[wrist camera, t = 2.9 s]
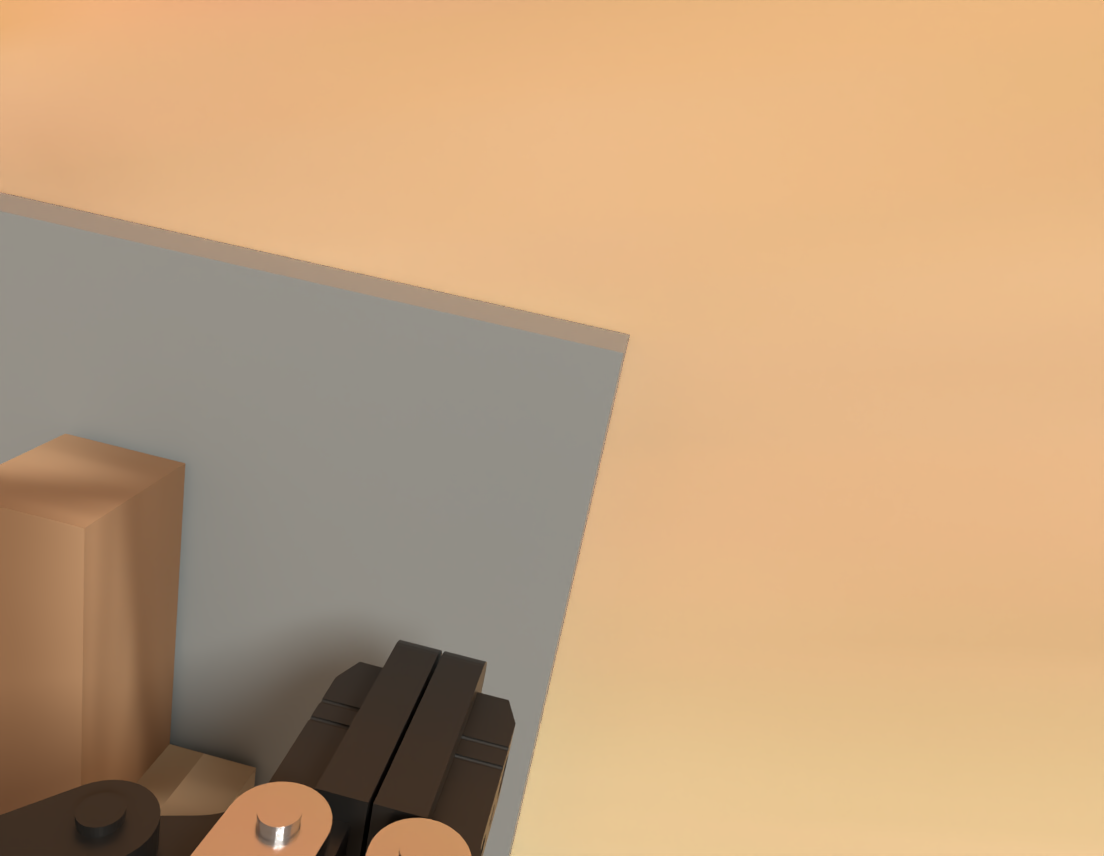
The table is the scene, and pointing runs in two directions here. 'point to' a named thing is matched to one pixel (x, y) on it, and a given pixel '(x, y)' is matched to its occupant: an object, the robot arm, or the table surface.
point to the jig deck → (317, 462)
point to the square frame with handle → (95, 629)
